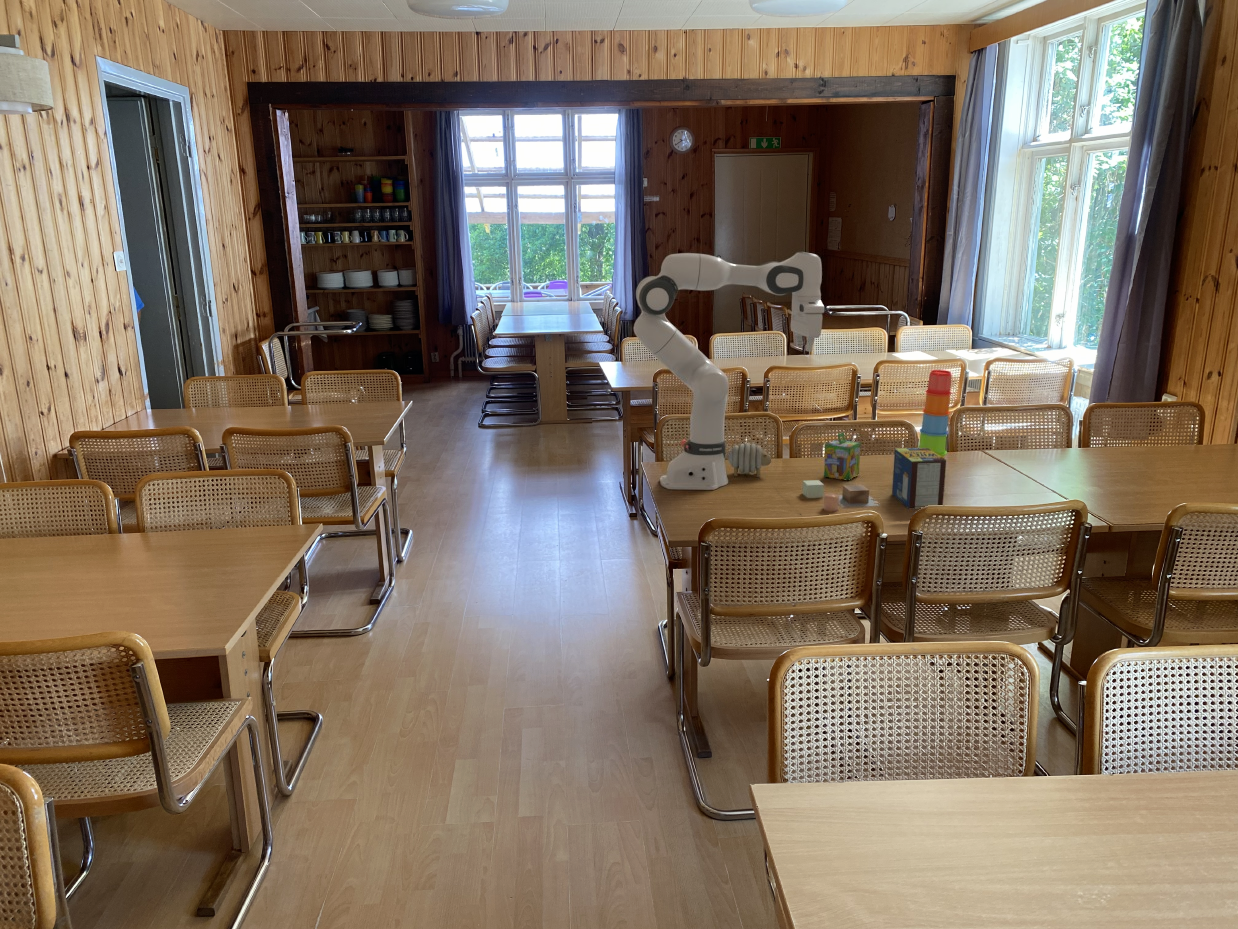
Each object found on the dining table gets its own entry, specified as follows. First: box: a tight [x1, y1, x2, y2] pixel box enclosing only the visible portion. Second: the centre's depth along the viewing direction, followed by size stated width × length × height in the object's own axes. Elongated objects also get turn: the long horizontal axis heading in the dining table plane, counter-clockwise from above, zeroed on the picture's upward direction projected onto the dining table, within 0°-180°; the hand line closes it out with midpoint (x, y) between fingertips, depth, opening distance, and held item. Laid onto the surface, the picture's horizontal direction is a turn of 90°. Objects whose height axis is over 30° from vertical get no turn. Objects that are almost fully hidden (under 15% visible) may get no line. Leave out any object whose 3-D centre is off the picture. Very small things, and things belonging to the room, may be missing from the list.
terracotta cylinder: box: [822, 492, 840, 512], centre depth 265 cm, size 4×4×5 cm
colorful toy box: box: [823, 431, 861, 481], centre depth 300 cm, size 9×9×15 cm
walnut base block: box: [841, 484, 870, 504], centre depth 273 cm, size 6×6×4 cm
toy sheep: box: [724, 442, 772, 478], centre depth 304 cm, size 11×17×11 cm, turn 85°
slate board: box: [838, 494, 879, 508], centre depth 273 cm, size 12×12×1 cm
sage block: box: [802, 479, 825, 499], centre depth 279 cm, size 5×5×5 cm
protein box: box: [891, 447, 947, 510], centre depth 270 cm, size 10×15×16 cm
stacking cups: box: [917, 369, 953, 459], centre depth 301 cm, size 10×10×35 cm
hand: (804, 348), depth 287 cm, fingers open, 8 cm apart
